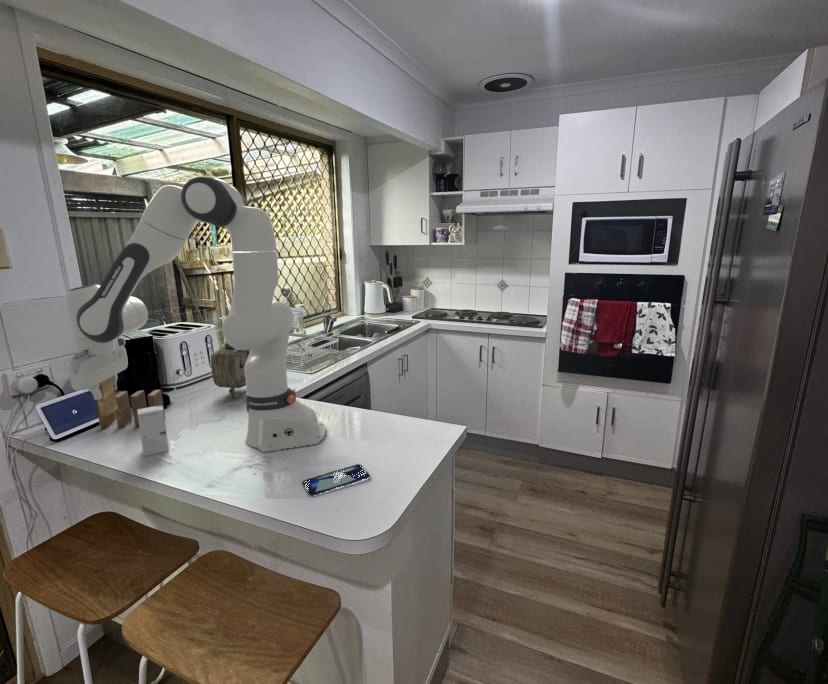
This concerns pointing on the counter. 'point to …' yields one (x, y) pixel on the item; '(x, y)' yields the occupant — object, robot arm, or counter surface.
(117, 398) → the domino
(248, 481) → the counter surface
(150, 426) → the skincare box
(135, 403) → the domino
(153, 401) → the domino
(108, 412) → the oak domino
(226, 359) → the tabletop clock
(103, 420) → the domino
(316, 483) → the smartphone
